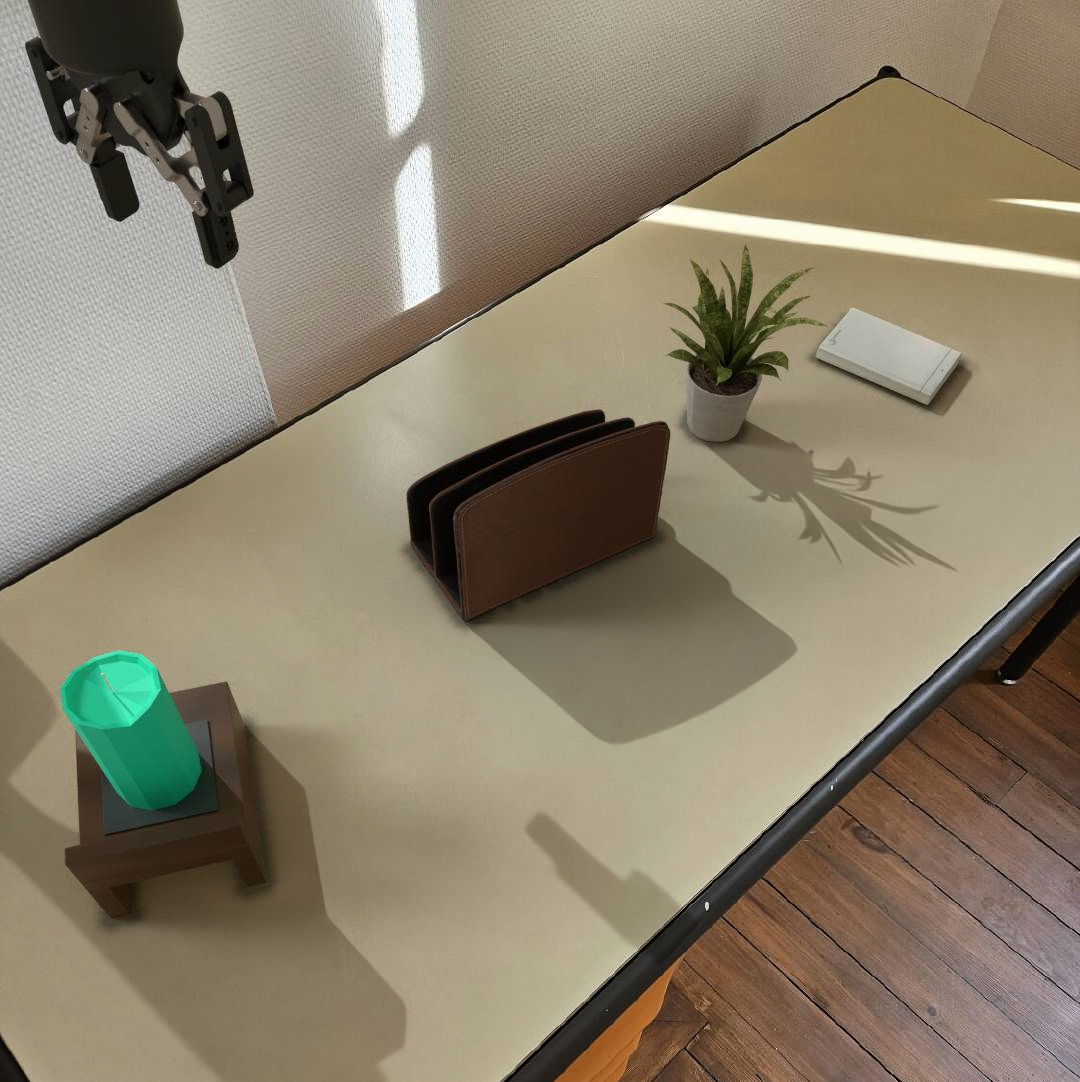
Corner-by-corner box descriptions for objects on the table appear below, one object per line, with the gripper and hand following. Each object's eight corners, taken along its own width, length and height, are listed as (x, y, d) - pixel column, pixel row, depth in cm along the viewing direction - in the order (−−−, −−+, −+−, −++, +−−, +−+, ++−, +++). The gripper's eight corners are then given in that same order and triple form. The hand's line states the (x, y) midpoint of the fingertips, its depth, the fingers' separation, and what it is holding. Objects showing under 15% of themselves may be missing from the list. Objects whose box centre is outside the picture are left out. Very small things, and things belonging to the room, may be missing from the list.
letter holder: (657, 537, 95) (677, 415, 83) (464, 625, 89) (456, 507, 78) (597, 469, 100) (609, 343, 88) (409, 548, 94) (394, 425, 82)
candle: (107, 812, 72) (41, 717, 62) (121, 737, 75) (60, 635, 65) (196, 808, 73) (145, 713, 62) (206, 734, 76) (159, 632, 66)
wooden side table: (101, 753, 82) (59, 688, 74) (244, 724, 84) (217, 657, 76) (110, 918, 75) (64, 864, 67) (266, 882, 76) (239, 825, 69)
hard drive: (818, 346, 108) (931, 394, 104) (853, 305, 111) (964, 350, 108) (814, 359, 109) (926, 407, 105) (849, 318, 113) (958, 363, 109)
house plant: (820, 406, 105) (866, 256, 91) (771, 494, 98) (813, 347, 85) (687, 360, 108) (713, 210, 95) (631, 443, 102) (650, 294, 88)
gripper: (-65, -65, 55) (51, 228, 68) (134, 14, 51) (215, 308, 64) (47, -113, 58) (136, 175, 72) (242, -43, 54) (297, 248, 68)
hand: (173, 237), depth 68 cm, fingers open, 8 cm apart
